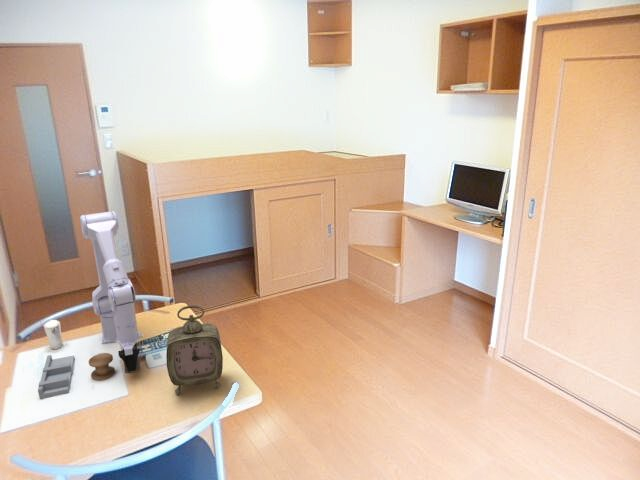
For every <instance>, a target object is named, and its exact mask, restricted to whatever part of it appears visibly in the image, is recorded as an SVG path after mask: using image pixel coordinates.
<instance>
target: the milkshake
mask: <svg viewBox="0 0 640 480" xmlns="http://www.w3.org/2000/svg"><path fill="white" fill-rule="evenodd" d="M39 322H40V324H41V325H42V326H43V328H44V331H45V334H46V336H47V340H48V343H49V346H50V349H52V350H57V349H60V348H62V347H63V339H62V330H61V329H62V328H61V322H60V321H59V320H57V319H50V320H49V321H47V322H45V323H44V324H43V322H41V321H39Z"/></svg>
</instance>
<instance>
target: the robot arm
mask: <svg viewBox="0 0 640 480" xmlns="http://www.w3.org/2000/svg"><path fill="white" fill-rule="evenodd" d="M79 222H80V228H81V229H80V230H81V233H82V236H83V238H84V239H89V240H90V242H91V243H92V248H93V253H94V260H95V265H96V271H97V276H98V277H97V278H98V283H99V285H98V286H97V287H96V288H95V289H94V290H93V291H92V294H91V299H92V300H91V302H92V306H93V312H94V313H95V315H96V316H99V318H100V323H101V329H102V334H101V344H103V345H104V344H108V343H114V342H117V343H118V345H119V346H120V347H121V348H122V350H118V352H117V353H118V357H119V358H120V360H122V361H123V364H124V363H125V365H126V368H127V370H128V373H132V372H131V371H133V372H136V371H135V370H136V366H137V357H138V356H139V354H140V352H141V351H140V348H138V347H137V349H133V347H134V346H137V343H138V341H139V339H143V337H144V335H143V332H139V330H138V323H137V317H136V309H135V302H136V291H135V288H134V286H133V283H132V281H131V279H130V278H129V277H128V273H127V270H126V267H125V262H124V261H122V260H120V259H119V258H118V257H119V256H118V253H117V248H116V243H115V238H114V237H115V236H116V235H118V230H119V227H120V226H119V219H118V216H117V214H116V211H113V210H111V211H105V212H97V213H90V214H81V216H80V217H79ZM123 349H124V350H123Z"/></svg>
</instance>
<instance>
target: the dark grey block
mask: <svg viewBox="0 0 640 480" xmlns="http://www.w3.org/2000/svg"><path fill="white" fill-rule="evenodd" d="M133 349H138V345H136V346H134V347H133ZM122 350H124V349H123V348H122ZM123 367H124V373H125V374H128V373H129V372H128V370H127V368H126V365H125V363H124V362H123ZM140 370H141V367H140V358H139V355H138V357H137V366H136V370H135V371H131V372H130V373H132V372H138V371H140Z"/></svg>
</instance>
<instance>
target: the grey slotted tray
mask: <svg viewBox="0 0 640 480" xmlns="http://www.w3.org/2000/svg"><path fill="white" fill-rule="evenodd" d="M75 359H76V358H75V355H69V356H64V357H60V358H53V357H52V354H50V355H49V354H48V355H47V356H46V359H45V363H44V366H43V369H42V373H41V377H40V381H39V382H38V388H37V393H38V397H39V399H40V400H41V399H44V398H45V399H46V398H49V397H54V396H60V395H65V394H69V393H70V388H71V383H72V377H73V372H74V366H75V361H76V360H75Z"/></svg>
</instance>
